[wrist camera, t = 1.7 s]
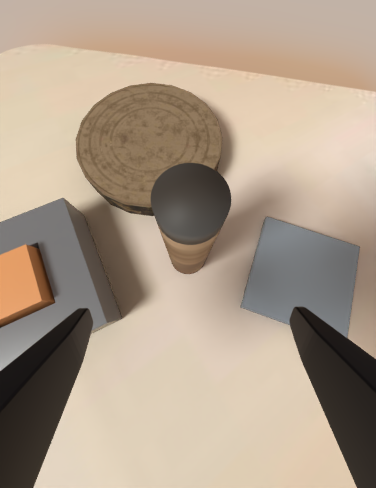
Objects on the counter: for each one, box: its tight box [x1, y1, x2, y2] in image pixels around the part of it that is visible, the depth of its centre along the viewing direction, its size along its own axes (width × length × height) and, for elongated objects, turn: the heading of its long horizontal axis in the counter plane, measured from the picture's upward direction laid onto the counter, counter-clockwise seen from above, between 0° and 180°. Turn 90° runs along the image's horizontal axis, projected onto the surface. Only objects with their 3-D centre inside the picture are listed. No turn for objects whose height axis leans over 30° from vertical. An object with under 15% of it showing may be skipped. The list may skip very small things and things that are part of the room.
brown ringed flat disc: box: [76, 83, 222, 216], centre depth 24 cm, size 16×16×3 cm
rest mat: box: [241, 217, 360, 338], centre depth 21 cm, size 10×10×1 cm
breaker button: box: [0, 244, 55, 327], centre depth 17 cm, size 5×5×3 cm
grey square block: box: [0, 198, 122, 371], centre depth 19 cm, size 12×12×4 cm
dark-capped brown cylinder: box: [151, 163, 231, 274], centre depth 15 cm, size 4×4×13 cm
